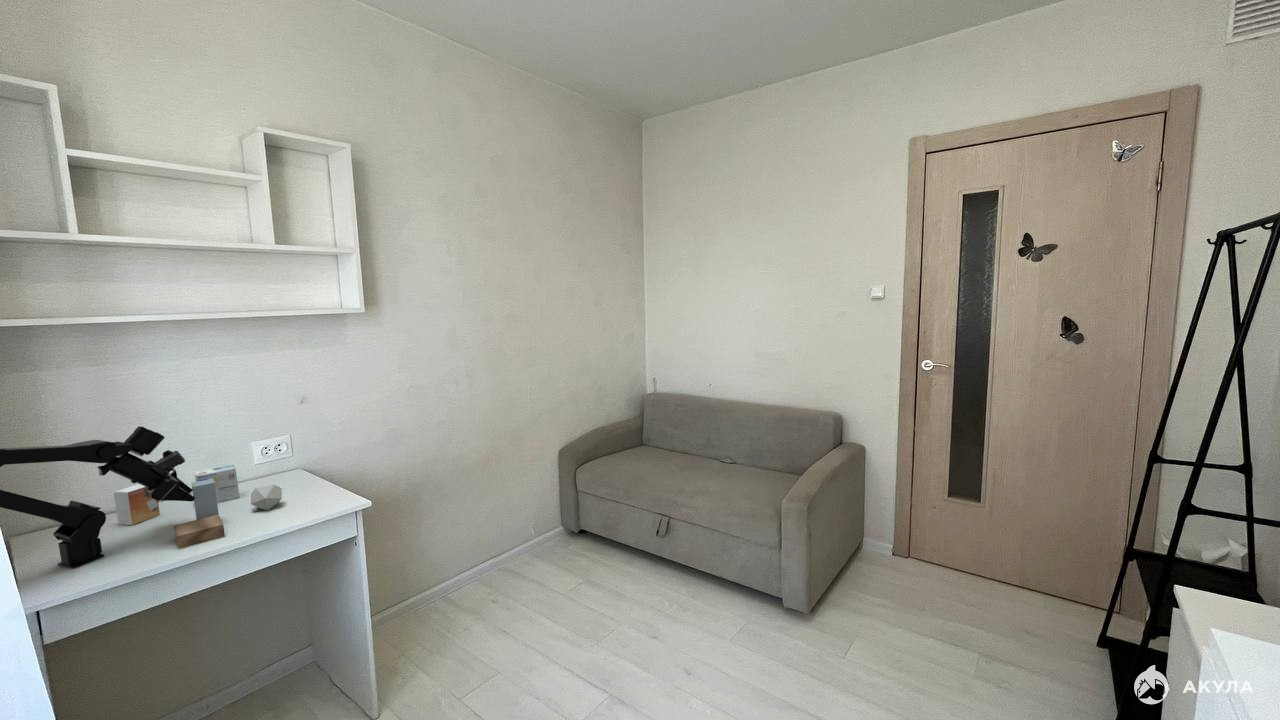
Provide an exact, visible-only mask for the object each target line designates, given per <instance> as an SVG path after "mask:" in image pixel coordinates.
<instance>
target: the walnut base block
mask: <svg viewBox="0 0 1280 720" xmlns="http://www.w3.org/2000/svg"><path fill="white" fill-rule="evenodd" d="M173 529H174V535H175V536H174V537H175V541H176V544H177V548H178V550H180V549H185V548H187V547H191V545H192V546H195V545H199V544H203V543H206V541H207V542H210V541H213V539H214V540H217V538H218V539H221V538H224V537H226V535H225V527H224V522H223V521H222V519H221V517H220V514H219V515H214V516H210V517H206V518H202V519H198V520H197V519H193V520H191V521H187V522H182V523H179V524H178V523H177V524H174V525H173ZM209 540H210V541H209ZM202 542H203V543H202ZM198 543H199V544H198ZM194 544H195V545H194Z"/></svg>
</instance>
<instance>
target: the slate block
mask: <svg viewBox="0 0 1280 720" xmlns="http://www.w3.org/2000/svg"><path fill="white" fill-rule="evenodd" d="M191 489H192V496H193V497H195V500H194V501H193V504H194V512H195V520H198V519H202V518H206V517H210V516H214V515H219V516H220V514H219V507H218V503H217V498H216V490H215V483H214V480H213V479H208V480H203V481H198V482H196V481H195V482H191Z"/></svg>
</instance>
